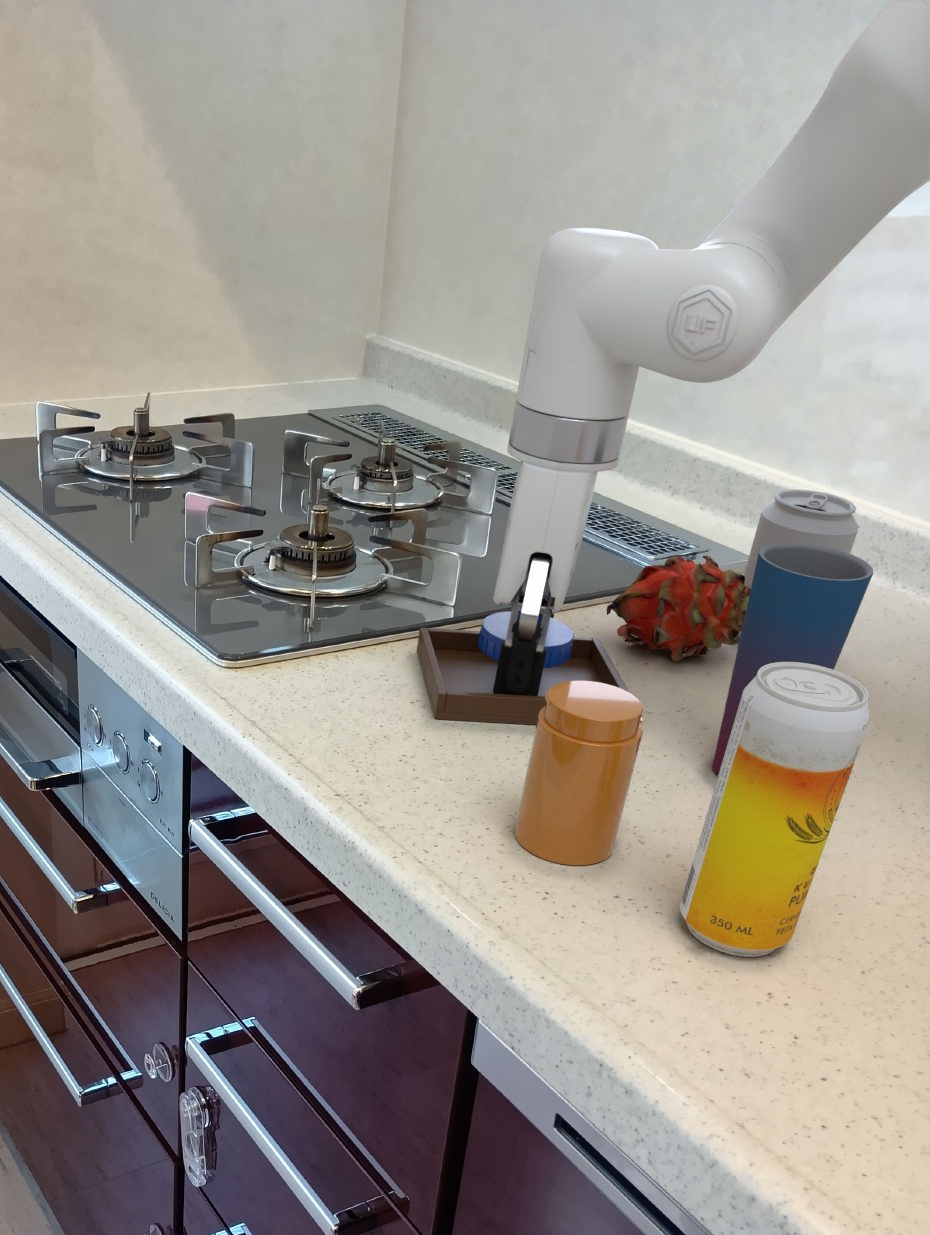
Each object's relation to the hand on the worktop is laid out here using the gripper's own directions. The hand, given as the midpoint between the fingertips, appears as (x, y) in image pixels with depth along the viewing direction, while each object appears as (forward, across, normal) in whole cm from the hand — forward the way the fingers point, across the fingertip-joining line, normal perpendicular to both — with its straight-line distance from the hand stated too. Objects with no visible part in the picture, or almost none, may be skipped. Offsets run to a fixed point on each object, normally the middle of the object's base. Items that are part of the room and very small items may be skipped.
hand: (519, 676), depth 98 cm
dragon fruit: (+1, -12, +11) cm, 17 cm away
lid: (-3, 0, 0) cm, 3 cm away
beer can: (+1, +28, +15) cm, 32 cm away
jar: (+1, +22, +5) cm, 22 cm away
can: (+1, -19, +20) cm, 27 cm away
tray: (+1, 0, 0) cm, 1 cm away
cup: (+1, +8, +17) cm, 18 cm away
